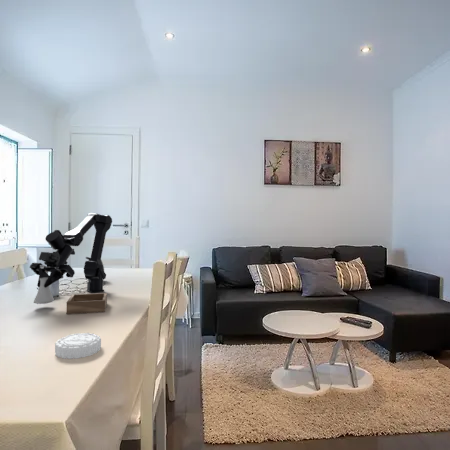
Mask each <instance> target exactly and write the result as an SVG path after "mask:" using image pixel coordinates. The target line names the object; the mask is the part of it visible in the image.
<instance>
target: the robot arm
mask: <svg viewBox="0 0 450 450" xmlns="http://www.w3.org/2000/svg"><path fill="white" fill-rule="evenodd" d="M112 223H113V218H112V216H111V215H109V214H107V215H106V214H100V213H95V212H94V213H93V212H90V213H88V214H87V215H86V217H85V218H84V219H82V221H81V222H80V223H79V224H78V225H76V226H75V228H74V229H73V228H72V229H71V230H69V231H67V232H66V233H64V234H62V232H61V231H60V230H59V229H55V230H54V231H51V232H50V233H48V234H47V235H46V237H45V241H46V242H47V243H48V244H49V246H50V247H51V248H52V249H53V250H55V251H52V252H49V251H48V252H47V251H41V252H40V254H39V257H38V260H39V261H42V262H44V263H43V264H42V262H32V263H31V264H30V265H29V269H31V271H33V273H34V274H36V275H37V276H38V281H37V287H38V288H39V287H40V278H44V277H47V278H48V279H47V281H46V282H45V284H44V287H45V288H46V287H48V286H49V285H51V284H52V283H54V282H56V281H57V280H59V281H60V280H61V279H63V278H64V275H65V276H66V278H74V276H75V273H76V272H75V270H74V269H73V267H72V266H71V265H70V264H68V260H69V257H70V256H71V255H72V256H73V255H76V252H75V249H74V248H73V247H79V246H80V245H81V244H82V242H83V240H84V236H85V234H86V233H87V232H88V231H89V230H90V229H91V228H92V227H93V226H94V228H95V235H94V239H93V244H92V249H91V253H90V257H89V258H90V259H89V260H88V259H87V260H85V262H84V266H83V274H84V278H85V279H86V280H87V282H86V284H87V285H86V286H87V287H86V291H87V292H89V293H91V294H94V293H101V292H104V291H105V289H104V288H103V287H104V280H105V279H106V278H107V274H106V272H105V270H104V271H103V266H104V264H103V265H102V263H103V261H102V262H101V260H102V255H103V250H104V244H105V241H106V235H107V232H108V231H109V230H110V229H111V228H112V227H111V226H112ZM49 273H50V274H49Z"/></svg>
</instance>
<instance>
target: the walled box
mask: <svg viewBox="0 0 450 450" xmlns="http://www.w3.org/2000/svg"><path fill="white" fill-rule="evenodd" d="M107 304H108V293H107V292H94V293H76V294H73V293H72V294H71V295H70V297H69V298H68V299H67V301H66V308H65V309H66V310H65V311H66V315H75V314H76V315H78V314H92V313H93V314H94V313H95V314H97V313H105V312H106V310H107V309H106V308H107Z"/></svg>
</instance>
